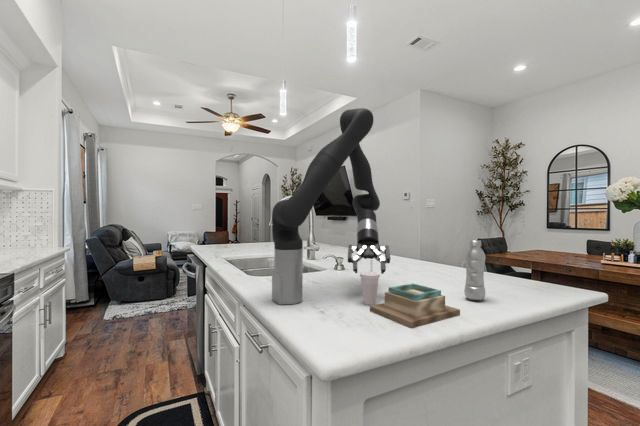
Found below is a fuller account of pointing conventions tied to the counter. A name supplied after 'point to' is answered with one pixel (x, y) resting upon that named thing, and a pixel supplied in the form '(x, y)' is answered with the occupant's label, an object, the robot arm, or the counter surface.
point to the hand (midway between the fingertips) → (369, 272)
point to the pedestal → (414, 305)
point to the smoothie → (369, 286)
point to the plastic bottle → (475, 271)
